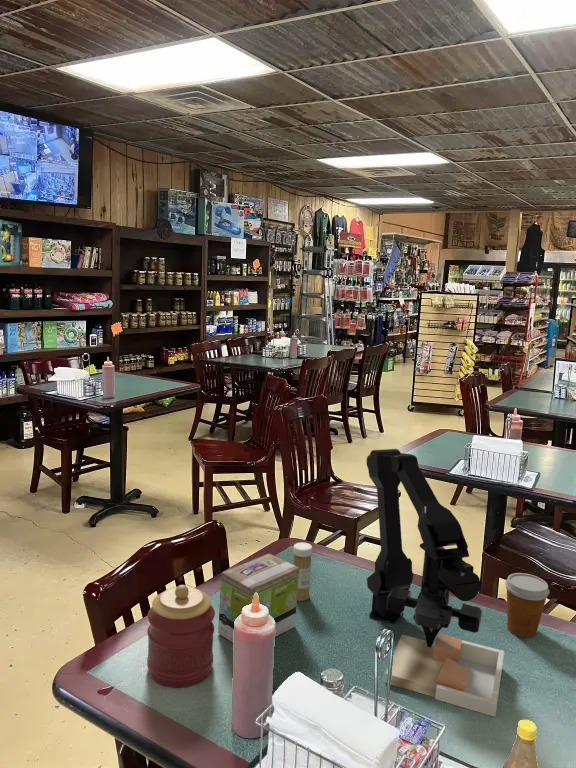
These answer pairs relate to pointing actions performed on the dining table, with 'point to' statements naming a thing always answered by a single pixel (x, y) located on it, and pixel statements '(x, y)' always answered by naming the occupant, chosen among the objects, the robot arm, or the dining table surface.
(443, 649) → the tile back
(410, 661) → the birch plate
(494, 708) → the bin
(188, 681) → the canister
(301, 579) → the sprinkles bottle
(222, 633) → the tea box
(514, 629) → the disposable coffee cup
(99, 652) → the dining table surface
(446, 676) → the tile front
